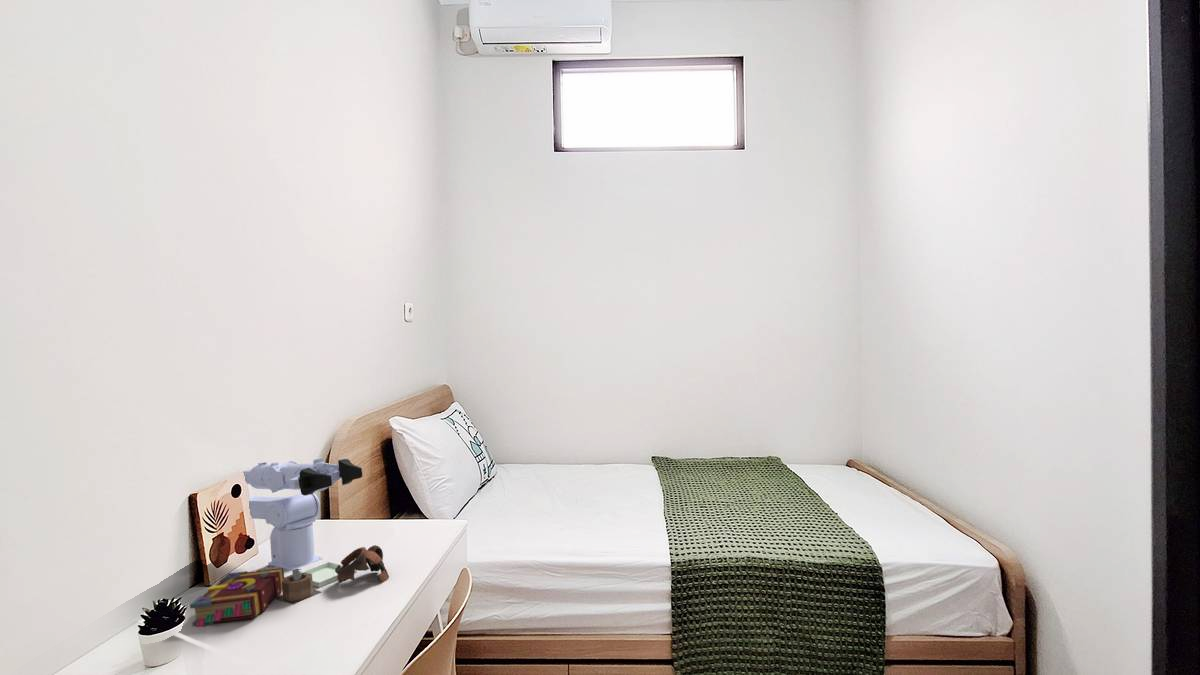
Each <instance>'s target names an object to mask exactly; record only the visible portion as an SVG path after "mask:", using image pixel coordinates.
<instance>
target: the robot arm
mask: <svg viewBox="0 0 1200 675" xmlns="http://www.w3.org/2000/svg"><path fill="white" fill-rule="evenodd" d="M312 462H313V463H298V462H296V461H291V460H290V461H288V462H285V463H282V464H279V463H280V462H277V461H275V462H271V463H270V464H269V463H268V462H267V461H261V462H258V463H257V464H256V465H255V466H254V467H252V468H247V469H248V470H245V471H243V473H244V476H245V481H246V483H247V484H250V485H251V487H252V488H254V489H257V490H270V491H271V493H277V492H278V491H282V490H297V491H298V490H300V493H299V494H297V495H292V496H291V495H290V496H285V497H281V496H253V497H251V498H250V500H249V509H250V515H251V517H252V518H251V519H254V520H255V519H256V520H265V523H266V524H269V525H272V526H273V528H272V530H271V532H270V536H269V538H270V539H269V541H270V543H269V544H270V554H271V556H270V557H271V561H269V562H267V565H268V566H271V567H278V568H283V569H285V570H290V571H293V570H295V569H301V568H302V567H305V566H308V565H310V564H313V563H315V562H318V561H321V560H323V558H324V557H323V556H317V555H315V543H314V541H315V540H314V525H313V523H314V522H316V517H318V515H319V513H320V509H321V502H320V500H319V497H318V495H316V493H315V492H321V491H325V490H327V489H328V488H329V487H332V486H333V485H334V484H335V483H336V482H338V481H339V480H341V484H342V486H344V485H349V484H350V483H352V481H354V480H357V479H361V478H363V469H362V467H360V466H358V465H355V464H353V463H352V461H351V460H350V459H348V458H342V459H338V460H337V463H338V464H335V463H330V462H329V463H327V462H324V459H323V458H322V457H319V458H314V459H313V461H312Z"/></svg>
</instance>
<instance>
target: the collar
mask: <svg viewBox="0 0 1200 675" xmlns="http://www.w3.org/2000/svg"><path fill="white" fill-rule="evenodd" d="M301 577H302V579H301V580H298V581H293V575H292V574H290V575H288V576H284V579H283V581H282V590H281V592H282V595H283V599H284V600H288V601H294V600H301V599H304V598H306V597H308V596H311V595H312V593H313V589H314V586H313V581H312V574H310V573H306V572H305V573H301Z"/></svg>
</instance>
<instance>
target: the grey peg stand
mask: <svg viewBox="0 0 1200 675" xmlns="http://www.w3.org/2000/svg"><path fill="white" fill-rule="evenodd" d="M291 572H292V574H291V575H293V581H298V580H301V579H302V577H301V572H302V568H297V569H295V570H291ZM322 593H323V591H320V590H316V589H314V588H313V593H312V595H311V596H308V597H306V598H304V599H301V600H294V601H288V600H284V599H283V594H280V595H279V596H278V597H276V598H273V599H275V600H277V601H280V602H284V603H287V604H291V605H296V604H298V603H300V602H302V601H304V600H305V601H306V600H307V599H309V598H312V597H315V596H317V595H319V594H322Z"/></svg>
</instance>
